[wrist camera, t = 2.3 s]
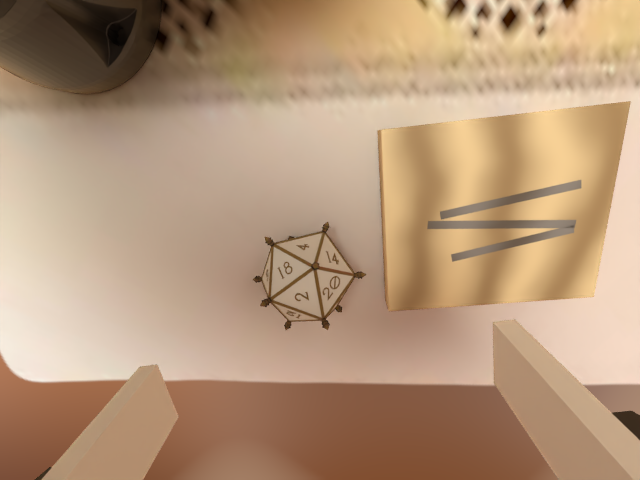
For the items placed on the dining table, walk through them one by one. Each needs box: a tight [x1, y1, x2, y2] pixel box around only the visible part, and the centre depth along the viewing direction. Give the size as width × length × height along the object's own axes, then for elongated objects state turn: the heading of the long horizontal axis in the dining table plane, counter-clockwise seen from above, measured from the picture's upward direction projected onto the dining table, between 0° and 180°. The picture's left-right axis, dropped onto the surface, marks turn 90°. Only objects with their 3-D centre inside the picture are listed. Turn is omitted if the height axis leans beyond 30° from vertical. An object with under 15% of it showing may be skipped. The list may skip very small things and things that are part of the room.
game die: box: [253, 222, 366, 330], centre depth 25 cm, size 9×8×10 cm
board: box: [378, 101, 631, 311], centre depth 26 cm, size 18×16×2 cm
